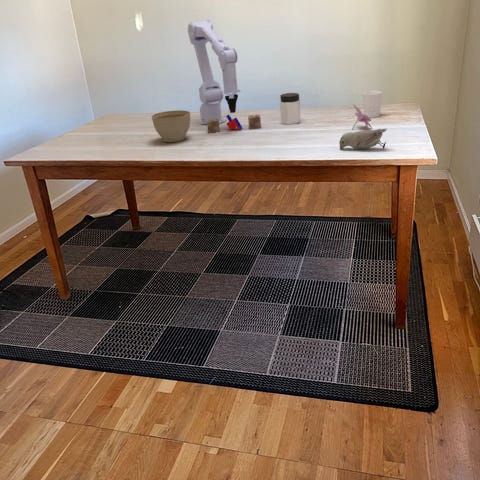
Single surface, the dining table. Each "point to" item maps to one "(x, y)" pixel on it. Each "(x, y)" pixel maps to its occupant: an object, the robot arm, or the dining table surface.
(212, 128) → the walnut cube seven
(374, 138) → the decorative bird
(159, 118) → the planter bowl
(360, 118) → the lily
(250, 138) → the dining table surface
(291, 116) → the jar
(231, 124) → the toy building block
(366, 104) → the white cup
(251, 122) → the walnut cube one
